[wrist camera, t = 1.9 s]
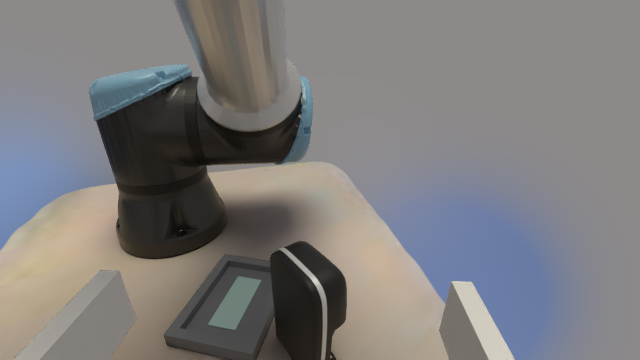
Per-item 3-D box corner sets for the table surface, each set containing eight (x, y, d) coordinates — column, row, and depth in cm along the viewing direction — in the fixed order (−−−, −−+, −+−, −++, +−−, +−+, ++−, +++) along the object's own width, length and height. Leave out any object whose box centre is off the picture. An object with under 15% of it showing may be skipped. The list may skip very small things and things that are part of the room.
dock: (226, 263, 41) (224, 254, 40) (291, 273, 39) (291, 264, 38) (167, 345, 30) (163, 335, 29) (253, 364, 28) (252, 354, 28)
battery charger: (348, 367, 28) (356, 271, 23) (315, 394, 26) (315, 295, 21) (305, 316, 33) (303, 228, 28) (274, 335, 31) (266, 244, 26)
